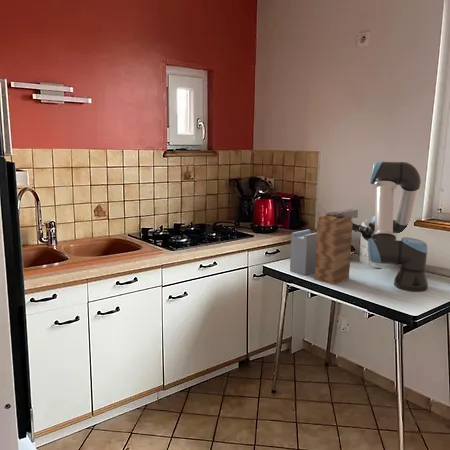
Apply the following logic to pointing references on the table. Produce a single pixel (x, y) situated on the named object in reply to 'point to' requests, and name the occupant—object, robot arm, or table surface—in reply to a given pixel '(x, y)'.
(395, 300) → the table surface
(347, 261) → the stand
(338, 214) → the grey bar
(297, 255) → the block
